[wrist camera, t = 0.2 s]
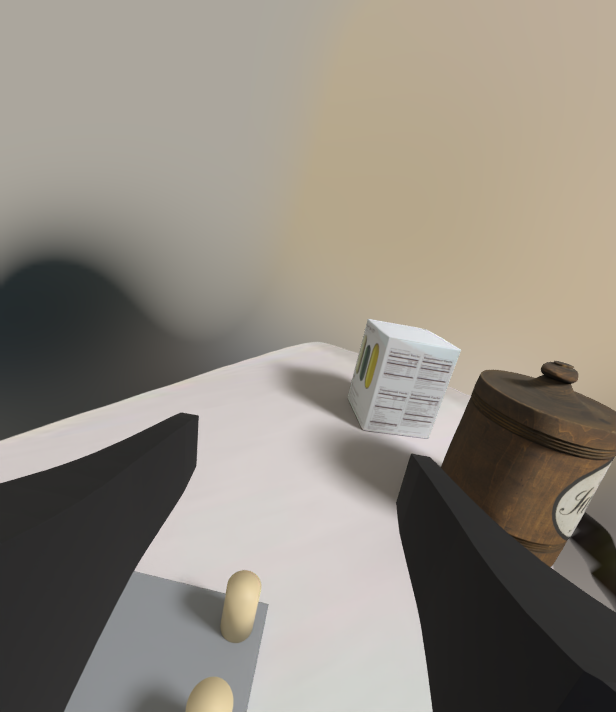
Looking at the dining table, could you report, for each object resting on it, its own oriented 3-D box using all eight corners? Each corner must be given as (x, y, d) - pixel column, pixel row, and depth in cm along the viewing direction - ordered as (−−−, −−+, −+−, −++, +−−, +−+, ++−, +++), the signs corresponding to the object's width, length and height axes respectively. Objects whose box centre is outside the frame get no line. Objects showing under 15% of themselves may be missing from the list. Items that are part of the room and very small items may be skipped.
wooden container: (573, 600, 34) (692, 411, 27) (426, 531, 39) (496, 356, 32) (540, 509, 47) (614, 367, 41) (433, 467, 52) (484, 333, 45)
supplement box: (345, 397, 71) (366, 317, 65) (403, 405, 73) (428, 328, 67) (361, 431, 58) (388, 336, 53) (430, 439, 60) (463, 349, 55)
